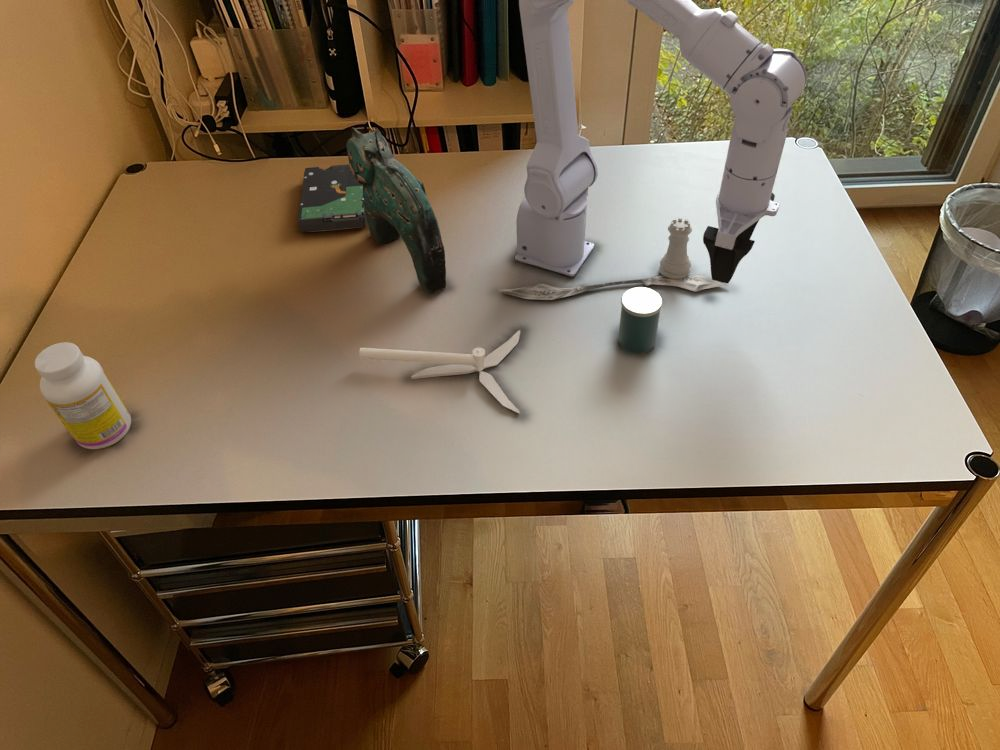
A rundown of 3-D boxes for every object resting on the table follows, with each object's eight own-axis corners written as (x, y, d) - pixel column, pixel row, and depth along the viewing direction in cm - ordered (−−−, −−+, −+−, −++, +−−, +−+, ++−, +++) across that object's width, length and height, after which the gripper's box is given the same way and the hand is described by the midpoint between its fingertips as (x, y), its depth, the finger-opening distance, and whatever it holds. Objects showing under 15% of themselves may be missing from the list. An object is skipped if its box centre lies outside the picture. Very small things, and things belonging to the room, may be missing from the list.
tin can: (611, 346, 101) (615, 306, 96) (625, 322, 104) (630, 282, 99) (648, 358, 99) (654, 318, 94) (661, 333, 102) (667, 293, 97)
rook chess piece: (692, 266, 111) (699, 216, 106) (687, 283, 108) (694, 233, 103) (661, 261, 113) (667, 212, 107) (655, 278, 110) (661, 228, 104)
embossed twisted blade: (731, 289, 108) (720, 267, 111) (731, 286, 107) (721, 264, 111) (500, 312, 106) (497, 288, 110) (500, 309, 106) (497, 285, 109)
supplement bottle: (84, 411, 97) (35, 337, 87) (138, 407, 97) (95, 332, 88) (69, 454, 92) (15, 381, 83) (125, 449, 92) (78, 375, 83)
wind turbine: (344, 382, 93) (518, 393, 91) (372, 304, 103) (530, 312, 101) (350, 403, 96) (519, 415, 94) (377, 325, 106) (530, 334, 104)
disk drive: (307, 182, 130) (301, 234, 120) (303, 167, 128) (297, 219, 118) (369, 176, 131) (368, 228, 121) (366, 161, 129) (365, 212, 119)
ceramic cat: (359, 232, 120) (334, 112, 105) (396, 218, 122) (376, 98, 108) (421, 303, 108) (403, 178, 94) (461, 285, 111) (449, 161, 96)
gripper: (771, 209, 82) (745, 306, 92) (802, 142, 90) (775, 237, 100) (705, 193, 84) (687, 289, 94) (741, 129, 93) (721, 223, 103)
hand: (729, 261), depth 97 cm, fingers open, 7 cm apart
